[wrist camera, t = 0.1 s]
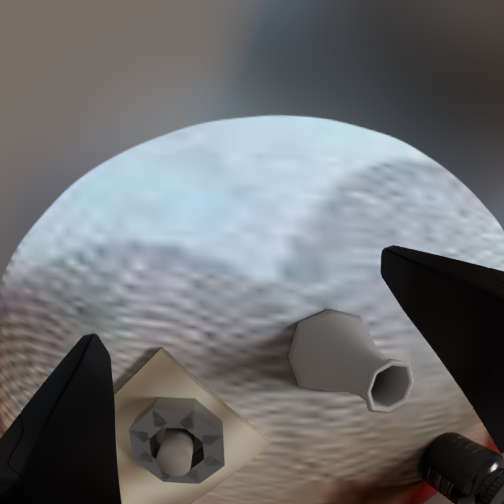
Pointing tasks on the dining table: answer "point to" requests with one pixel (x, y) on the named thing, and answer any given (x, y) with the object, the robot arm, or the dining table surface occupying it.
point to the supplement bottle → (463, 470)
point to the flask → (347, 361)
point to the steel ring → (179, 416)
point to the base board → (176, 387)
